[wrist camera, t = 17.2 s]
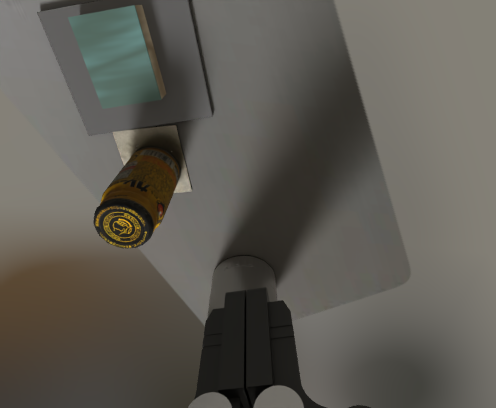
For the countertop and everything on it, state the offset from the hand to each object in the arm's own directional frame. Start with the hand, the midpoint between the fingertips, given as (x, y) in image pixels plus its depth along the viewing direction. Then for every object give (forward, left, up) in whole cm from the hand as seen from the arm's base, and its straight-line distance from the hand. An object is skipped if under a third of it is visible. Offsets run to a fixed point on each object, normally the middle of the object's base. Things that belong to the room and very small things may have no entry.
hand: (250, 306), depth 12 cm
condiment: (-5, +12, -28) cm, 31 cm away
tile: (+11, +11, -26) cm, 30 cm away
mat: (+6, +11, -27) cm, 30 cm away
